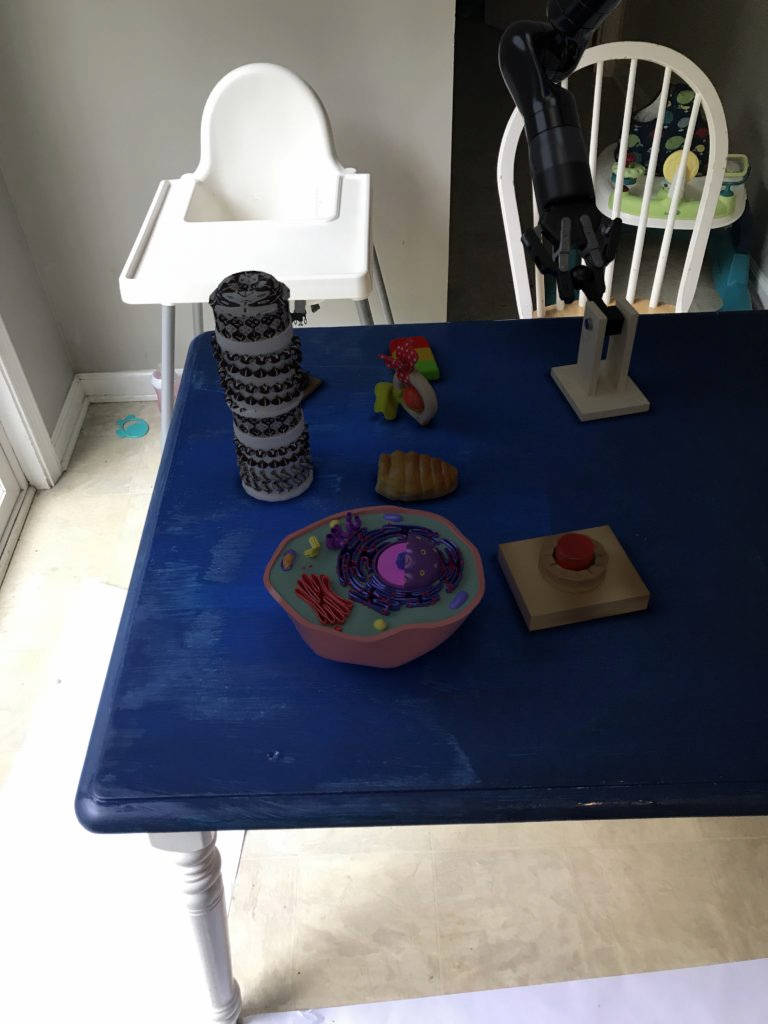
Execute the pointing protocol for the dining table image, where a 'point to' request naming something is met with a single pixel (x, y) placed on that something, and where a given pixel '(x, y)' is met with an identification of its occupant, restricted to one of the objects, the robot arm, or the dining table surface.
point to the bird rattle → (406, 387)
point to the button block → (571, 581)
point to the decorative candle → (262, 384)
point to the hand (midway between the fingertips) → (584, 300)
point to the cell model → (376, 584)
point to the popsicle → (426, 358)
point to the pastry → (414, 476)
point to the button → (574, 552)
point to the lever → (597, 299)
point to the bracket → (602, 368)
